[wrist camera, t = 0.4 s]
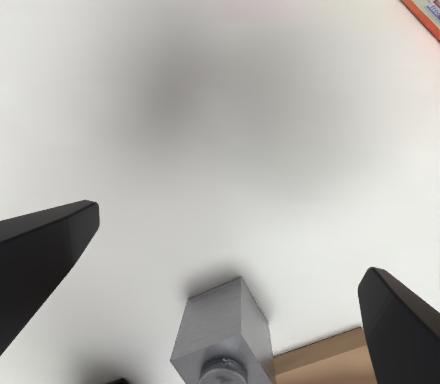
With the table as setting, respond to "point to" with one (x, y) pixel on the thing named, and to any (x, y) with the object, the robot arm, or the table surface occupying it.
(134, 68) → the table surface
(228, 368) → the metal cube with knob
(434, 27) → the cracker box
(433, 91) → the table surface
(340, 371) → the brown flat block
